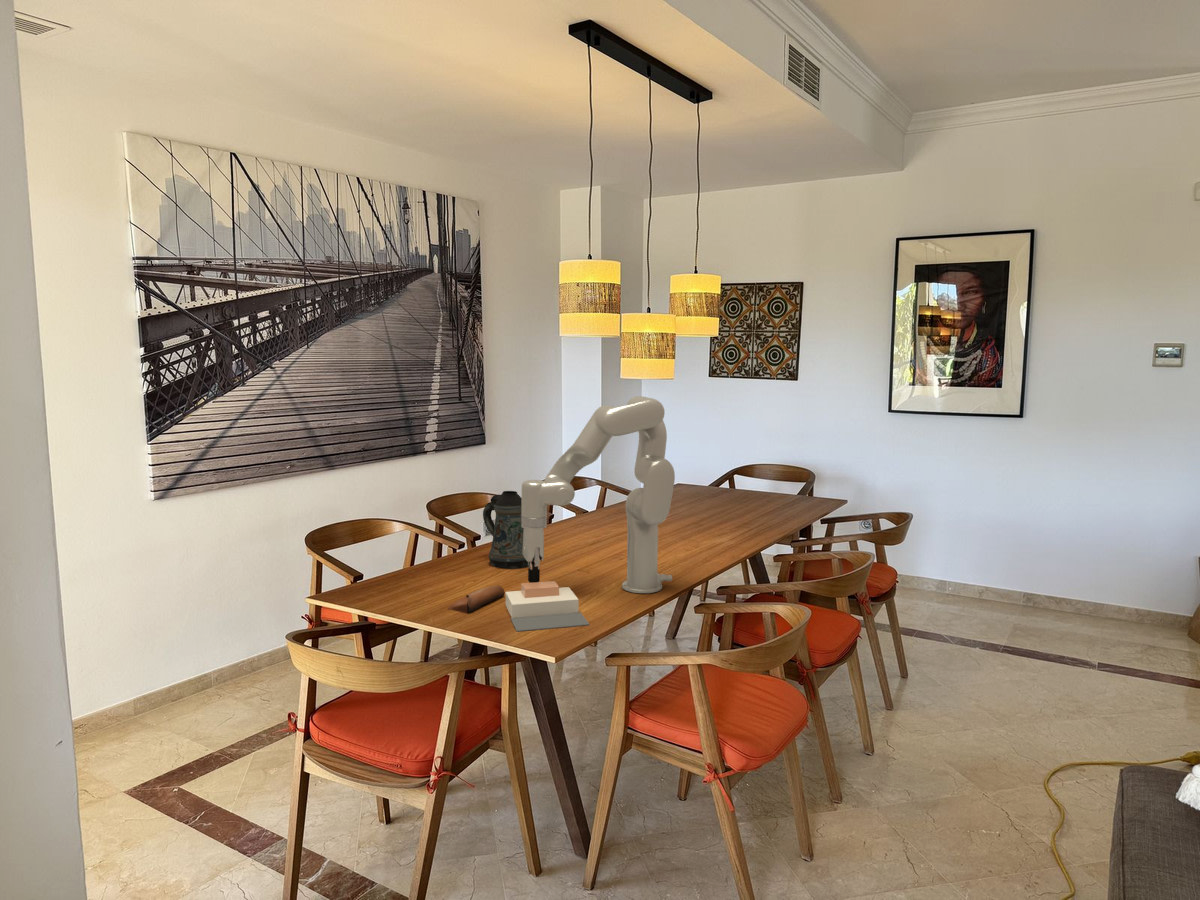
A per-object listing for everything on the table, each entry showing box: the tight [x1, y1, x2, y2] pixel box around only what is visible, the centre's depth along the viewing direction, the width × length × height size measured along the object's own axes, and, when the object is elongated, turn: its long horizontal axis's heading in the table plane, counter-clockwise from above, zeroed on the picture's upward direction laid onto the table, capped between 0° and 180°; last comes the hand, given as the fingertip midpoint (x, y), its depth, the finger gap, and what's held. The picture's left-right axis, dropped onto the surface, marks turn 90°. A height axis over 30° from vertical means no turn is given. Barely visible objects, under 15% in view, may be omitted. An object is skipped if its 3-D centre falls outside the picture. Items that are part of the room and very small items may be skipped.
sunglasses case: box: [447, 584, 506, 614], centre depth 239 cm, size 18×7×7 cm
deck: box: [504, 586, 580, 618], centre depth 234 cm, size 19×12×4 cm, turn 105°
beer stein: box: [482, 490, 529, 570], centre depth 281 cm, size 16×19×25 cm
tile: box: [520, 580, 560, 598], centre depth 235 cm, size 10×6×2 cm, turn 105°
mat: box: [510, 611, 591, 633], centre depth 223 cm, size 20×10×1 cm, turn 105°
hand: (533, 581), depth 243 cm, fingers closed
